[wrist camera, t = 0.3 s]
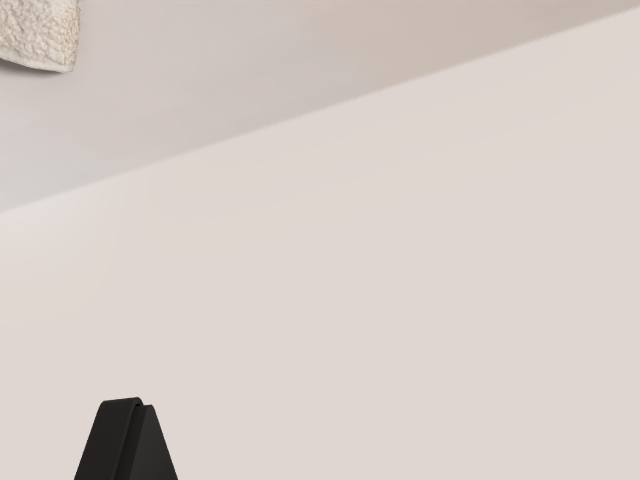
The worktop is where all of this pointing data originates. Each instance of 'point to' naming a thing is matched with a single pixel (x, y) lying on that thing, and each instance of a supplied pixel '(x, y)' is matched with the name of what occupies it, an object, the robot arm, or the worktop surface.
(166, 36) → the worktop surface
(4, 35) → the washcloth
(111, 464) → the robot arm
